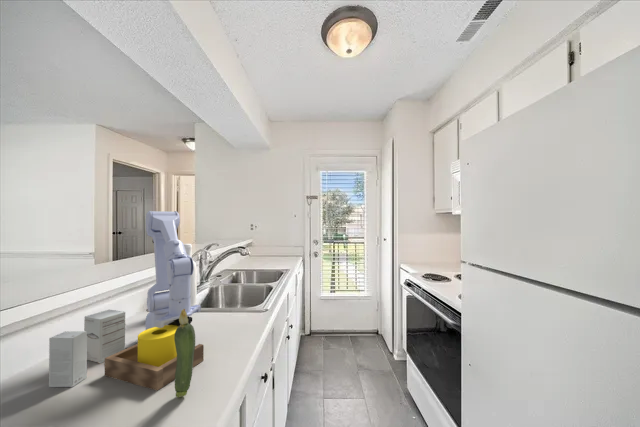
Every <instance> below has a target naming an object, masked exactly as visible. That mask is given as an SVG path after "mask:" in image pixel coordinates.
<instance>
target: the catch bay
mask: <svg viewBox="0 0 640 427" xmlns="http://www.w3.org/2000/svg"><path fill="white" fill-rule="evenodd" d="M204 356H205V355H204V344H202V343H198V344H197V345H195V350H194V358H193V368H195V367H196V366H197V365H199V364H200V363H202V362H203V361H204ZM176 365H177V357H175V358H174V359H172V360H170V361H168V362H167V363H165V364H163V365H161V366H160V367H156V366H152V365H148V364H144V363H140V362H138V343H136V344H134V345H131V346H129V347H127V348H125V349H124V350H122V351H120V352H118V353H115V354H113V355H111V356H109V357H106V358H105V361H104V376H105V377H107V378H112V379H114V380H119V381H122V382H126V383H129V384H133V385H136V386H140V387H144V388H147V389H150V390H154V391H159V390H161V389H163V388H164V387H165V386H167V385H168V384H170V383H172V382H173V381H175V372H176Z"/></svg>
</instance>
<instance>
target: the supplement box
mask: <svg viewBox="0 0 640 427" xmlns="http://www.w3.org/2000/svg"><path fill="white" fill-rule="evenodd" d="M83 320H84V323H83V324H84V330H83V331H87V361H91V362H95V363H98V364H101V363H105V358H106V357H109V356H111V355H113V354H115V353H118V352H120V351H122V350H124V349H126V311H123V310H116V309H105V310H103V311H99V312H94V313H93V314H89V315H85V316H84V318H83Z"/></svg>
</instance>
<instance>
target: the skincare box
mask: <svg viewBox="0 0 640 427" xmlns="http://www.w3.org/2000/svg"><path fill="white" fill-rule="evenodd" d="M48 341H49V345H48V346H49V348H48V349H49V350H48V352H49V353H48V354H49V355H48V357H49V358H48V360H49V361H48V373H49V374H48V388H72V387H74V386H77V385H78V384H79V383H81V382H82V381H84V380H85V379H86V378H87V377H88V375H87V373H88V368H87V367H88V364H87V363H88V360H87V331H84V330H82V331H81V330H80V331H71V330H70V331H63V332H60V333H58V334H55V335H53V336H50V337H49V340H48Z"/></svg>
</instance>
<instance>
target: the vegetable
mask: <svg viewBox="0 0 640 427" xmlns="http://www.w3.org/2000/svg"><path fill="white" fill-rule="evenodd" d="M179 322H180V324H181V325H180V326H179V327H178V328H177V329H176V332H175V337H174V340H175V346H176V353H177V365H176V372H175V379H174V390H175V397H176V398H178V399H179V398H181V397H185V396H186V395H187V393H188V390H189V389H190V387H191V381H192V376H193V369H194V367H193V358H194V350H195V346H196V332H195V328H194V326H193V325H192V324H189V323H188V318H187V313H186V311H185V309H183V310H182V311H181V314H180V317H179Z"/></svg>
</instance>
